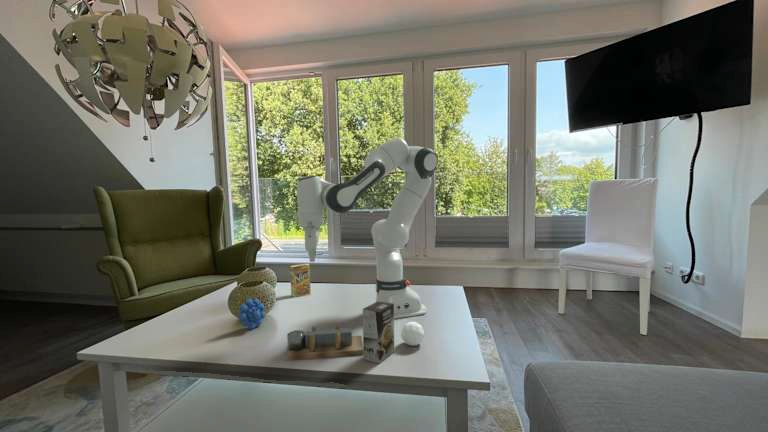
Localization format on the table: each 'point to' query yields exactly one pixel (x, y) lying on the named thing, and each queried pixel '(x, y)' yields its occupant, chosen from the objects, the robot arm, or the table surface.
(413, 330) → the geometric ball
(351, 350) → the peg board
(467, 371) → the table surface
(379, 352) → the coffee box
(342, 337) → the grey bar
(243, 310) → the grapes
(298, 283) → the candy box
